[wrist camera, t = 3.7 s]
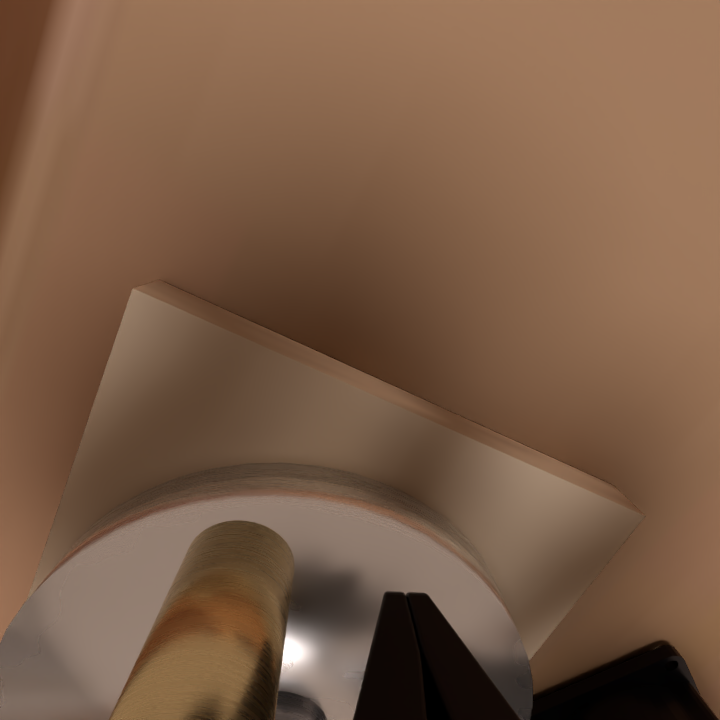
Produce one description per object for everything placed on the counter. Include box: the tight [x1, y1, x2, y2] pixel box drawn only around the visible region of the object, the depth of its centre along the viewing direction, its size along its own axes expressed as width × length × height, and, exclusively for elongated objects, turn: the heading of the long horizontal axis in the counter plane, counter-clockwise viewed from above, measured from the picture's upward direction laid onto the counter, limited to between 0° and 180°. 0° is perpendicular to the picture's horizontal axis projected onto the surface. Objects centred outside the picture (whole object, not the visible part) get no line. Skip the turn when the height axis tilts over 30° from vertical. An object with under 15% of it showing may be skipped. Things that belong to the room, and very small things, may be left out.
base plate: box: [27, 280, 645, 660], centre depth 14 cm, size 15×18×2 cm
